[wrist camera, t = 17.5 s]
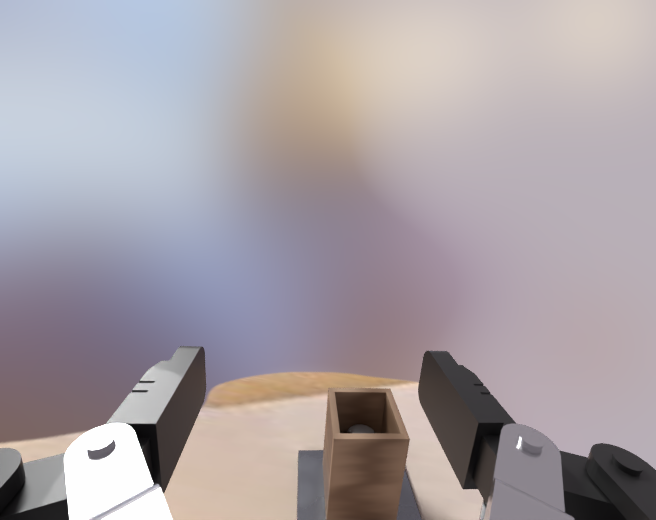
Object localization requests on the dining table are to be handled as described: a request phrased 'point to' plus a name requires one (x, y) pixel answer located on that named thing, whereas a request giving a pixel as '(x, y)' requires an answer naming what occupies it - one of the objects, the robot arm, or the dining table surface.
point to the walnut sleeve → (363, 455)
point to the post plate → (312, 486)
